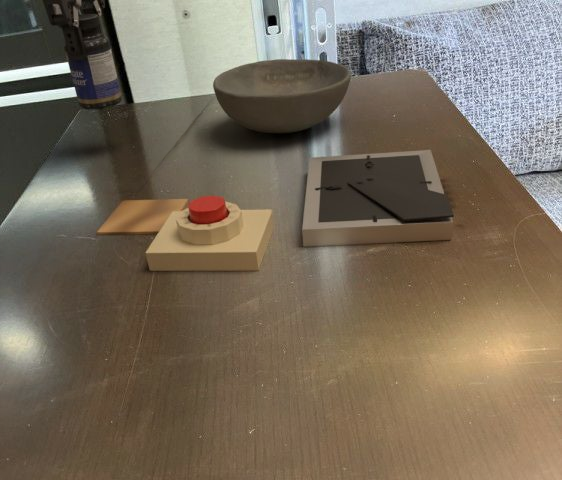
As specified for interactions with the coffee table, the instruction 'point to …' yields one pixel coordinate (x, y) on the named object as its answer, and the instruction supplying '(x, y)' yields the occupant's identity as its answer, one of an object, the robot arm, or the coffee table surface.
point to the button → (207, 210)
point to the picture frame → (375, 200)
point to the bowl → (282, 93)
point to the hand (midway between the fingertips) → (88, 52)
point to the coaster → (140, 216)
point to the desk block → (212, 242)
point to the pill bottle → (94, 68)
